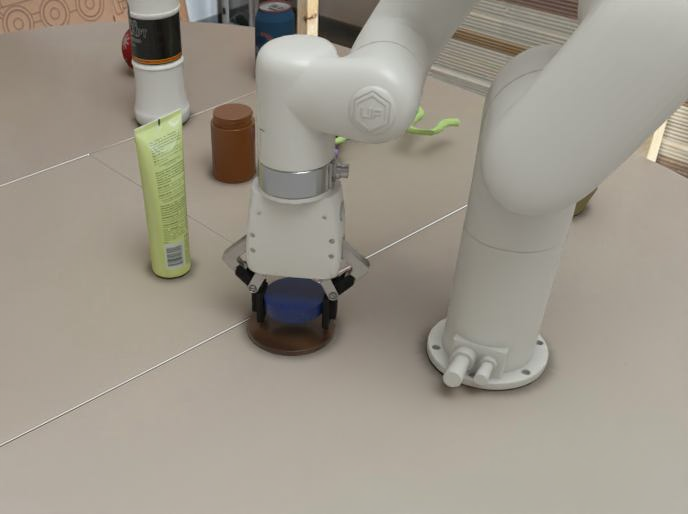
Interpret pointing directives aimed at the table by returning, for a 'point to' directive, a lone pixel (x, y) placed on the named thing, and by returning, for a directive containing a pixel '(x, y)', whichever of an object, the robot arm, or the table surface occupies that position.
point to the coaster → (289, 335)
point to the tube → (164, 193)
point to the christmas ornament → (127, 49)
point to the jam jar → (233, 143)
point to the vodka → (157, 59)
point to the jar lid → (294, 300)
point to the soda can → (273, 22)
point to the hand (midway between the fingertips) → (294, 318)
